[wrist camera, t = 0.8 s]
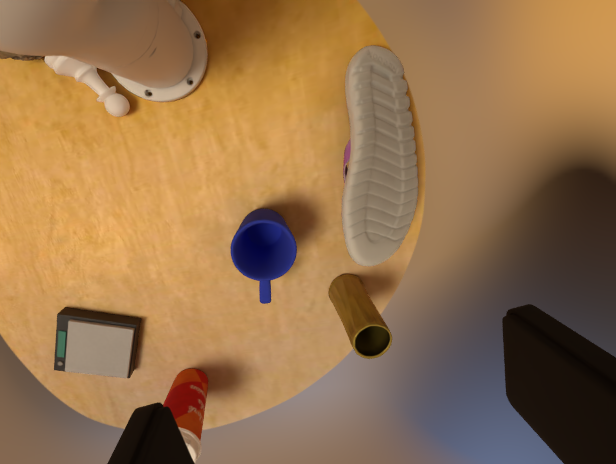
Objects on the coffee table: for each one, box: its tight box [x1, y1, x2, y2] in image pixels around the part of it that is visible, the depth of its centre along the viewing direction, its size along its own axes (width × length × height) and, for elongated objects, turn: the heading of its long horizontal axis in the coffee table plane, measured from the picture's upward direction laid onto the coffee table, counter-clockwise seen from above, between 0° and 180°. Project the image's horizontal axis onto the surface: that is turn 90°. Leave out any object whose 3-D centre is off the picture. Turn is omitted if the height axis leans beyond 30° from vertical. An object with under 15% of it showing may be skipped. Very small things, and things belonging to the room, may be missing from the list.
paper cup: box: [163, 369, 208, 463], centre depth 50 cm, size 8×8×14 cm
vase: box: [329, 274, 392, 359], centre depth 49 cm, size 6×6×14 cm
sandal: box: [342, 45, 418, 266], centre depth 46 cm, size 13×29×7 cm, turn 5°
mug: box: [231, 209, 297, 304], centre depth 46 cm, size 8×12×10 cm
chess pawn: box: [45, 56, 130, 117], centre depth 40 cm, size 5×5×9 cm
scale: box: [54, 307, 141, 378], centre depth 51 cm, size 10×11×3 cm
